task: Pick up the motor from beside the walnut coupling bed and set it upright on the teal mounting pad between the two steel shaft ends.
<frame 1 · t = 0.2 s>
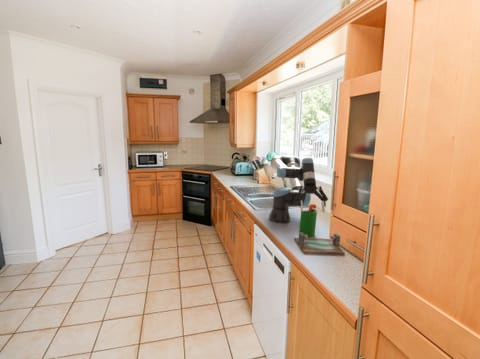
hand: (312, 211, 159), 16 cm above the counter, tool tilted 35°, fingers open, 13 cm apart
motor: (307, 234, 164), on the counter
coupling bed: (318, 247, 145), on the counter
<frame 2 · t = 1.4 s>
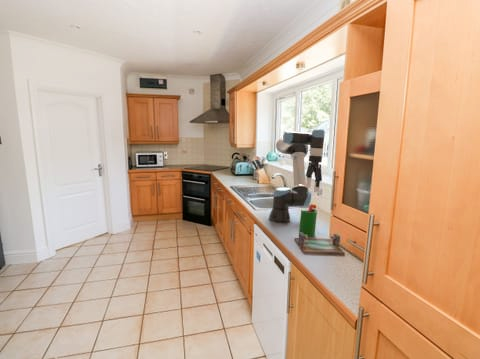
hand: (312, 190, 159), 29 cm above the counter, tool pointing down, fingers open, 13 cm apart
nothing on the counter moved.
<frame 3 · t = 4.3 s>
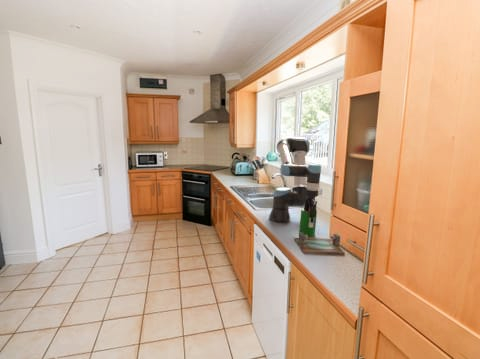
hand: (308, 224, 163), 6 cm above the counter, tool pointing down, fingers open, 8 cm apart
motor: (307, 234, 164), on the counter, touching gripper
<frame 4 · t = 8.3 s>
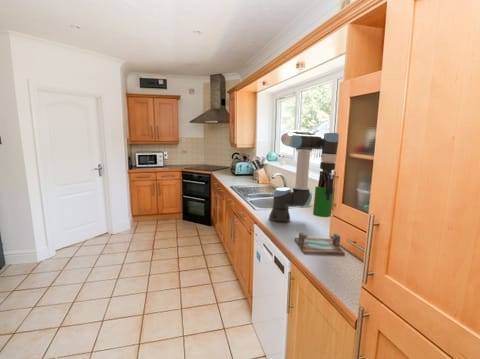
hand: (323, 203, 141), 25 cm above the counter, tool pointing down, fingers closed on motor, 7 cm apart
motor: (322, 215, 141), point 19 cm above the counter, touching gripper
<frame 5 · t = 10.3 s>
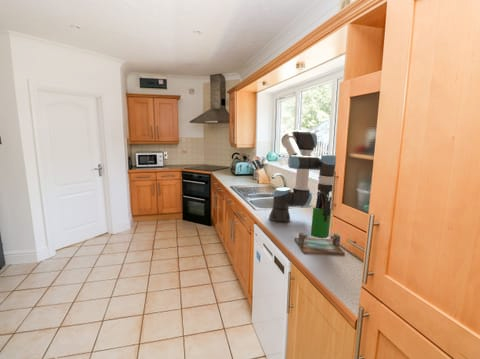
hand: (320, 224, 143), 13 cm above the counter, tool pointing down, fingers closed on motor, 7 cm apart
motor: (320, 235, 143), point 7 cm above the counter, touching gripper
when the fingers open (9 cm above the counter, at t = 12.0 s): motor drops 1 cm, resting on coupling bed.
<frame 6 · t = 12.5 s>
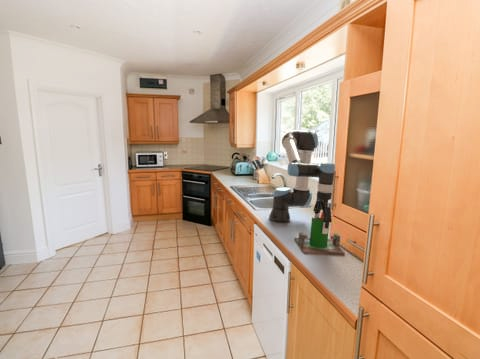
hand: (320, 229, 143), 11 cm above the counter, tool pointing down, fingers open, 13 cm apart
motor: (318, 244, 144), point 1 cm above the counter, touching coupling bed
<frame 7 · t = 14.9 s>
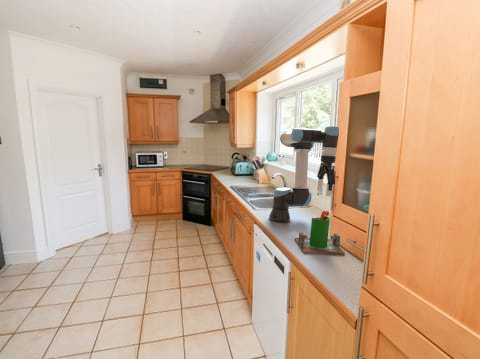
hand: (323, 193, 145), 30 cm above the counter, tool pointing down, fingers open, 13 cm apart
nothing on the counter moved.
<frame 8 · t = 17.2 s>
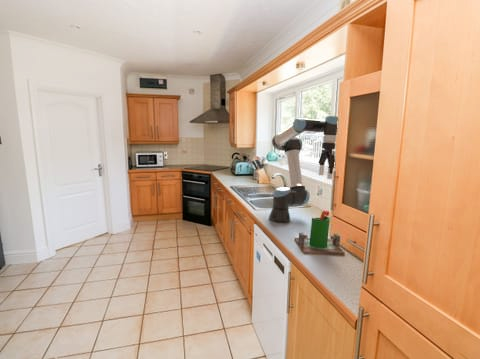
hand: (325, 177, 160), 37 cm above the counter, tool pointing down, fingers open, 13 cm apart
nothing on the counter moved.
at the end: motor inside the target area on the coupling bed (0.3 cm from its centre), point 1.5 cm above the coupling bed's base; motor tilted 0°; the gripper is holding nothing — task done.
